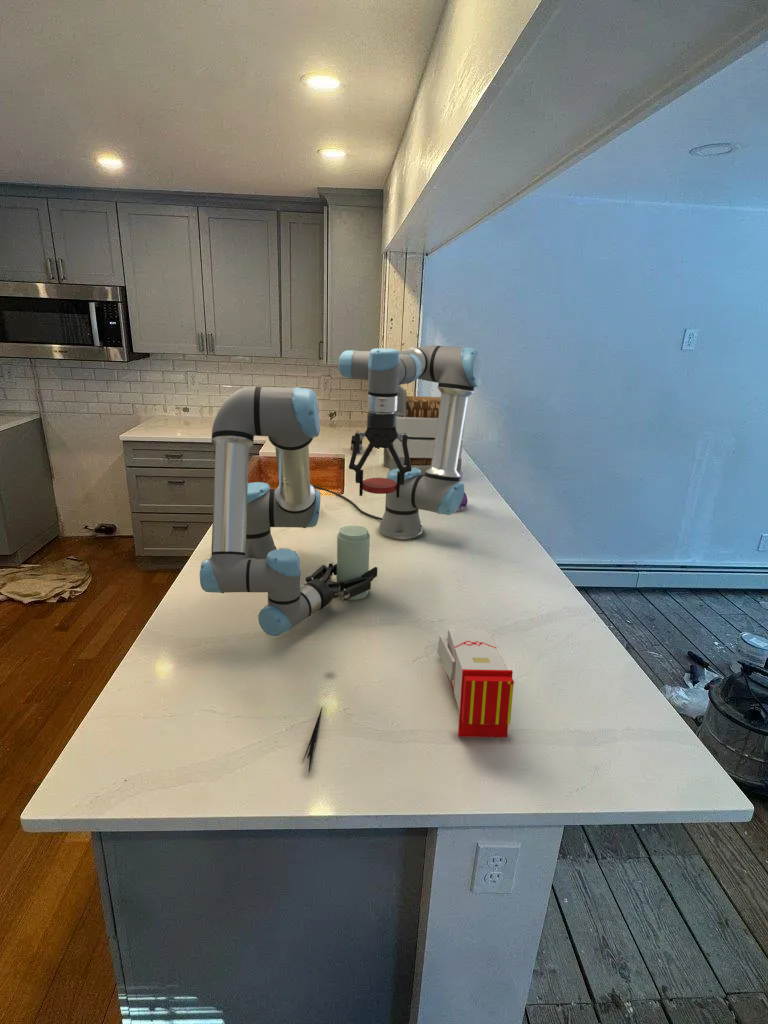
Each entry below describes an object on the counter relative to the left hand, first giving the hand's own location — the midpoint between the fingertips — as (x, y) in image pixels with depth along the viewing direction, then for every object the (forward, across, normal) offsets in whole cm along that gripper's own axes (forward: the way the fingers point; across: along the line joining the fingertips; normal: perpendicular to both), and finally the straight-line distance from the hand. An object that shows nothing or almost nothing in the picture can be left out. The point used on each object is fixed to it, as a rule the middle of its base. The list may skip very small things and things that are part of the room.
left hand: (362, 567), depth 159 cm
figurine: (+79, -7, -6) cm, 79 cm away
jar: (-5, 0, -6) cm, 8 cm away
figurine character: (+130, -92, -6) cm, 159 cm away
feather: (-50, +25, -6) cm, 57 cm away
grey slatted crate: (+115, -44, -6) cm, 123 cm away
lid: (+2, +3, +25) cm, 25 cm away
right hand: (+2, +3, +21) cm, 22 cm away
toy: (-26, +45, -6) cm, 52 cm away
